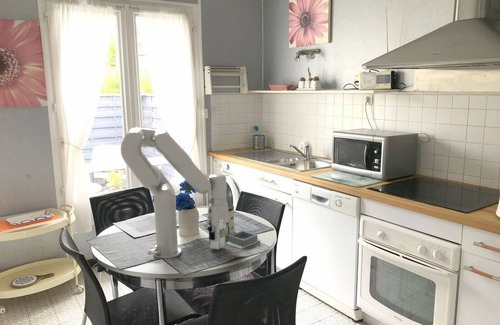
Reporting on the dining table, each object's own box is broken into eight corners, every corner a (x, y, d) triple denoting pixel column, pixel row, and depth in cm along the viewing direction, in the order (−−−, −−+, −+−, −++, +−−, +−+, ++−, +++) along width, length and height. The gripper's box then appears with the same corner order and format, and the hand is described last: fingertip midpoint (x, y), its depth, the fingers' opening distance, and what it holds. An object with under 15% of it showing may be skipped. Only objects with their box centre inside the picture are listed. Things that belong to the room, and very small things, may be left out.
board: (240, 249, 195) (240, 247, 195) (225, 244, 202) (225, 242, 202) (260, 240, 205) (260, 239, 205) (245, 236, 212) (245, 235, 212)
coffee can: (216, 229, 223) (216, 204, 221) (235, 229, 222) (235, 204, 220) (213, 235, 213) (212, 209, 211) (233, 236, 212) (232, 209, 210)
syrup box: (215, 243, 199) (215, 214, 197) (225, 246, 197) (226, 216, 194) (208, 247, 194) (208, 217, 192) (219, 250, 192) (219, 220, 189)
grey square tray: (243, 246, 196) (243, 240, 196) (228, 241, 203) (228, 235, 203) (257, 240, 204) (257, 235, 203) (242, 236, 210) (242, 230, 210)
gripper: (209, 205, 183) (209, 244, 186) (236, 199, 196) (235, 235, 199) (198, 202, 188) (198, 240, 191) (225, 196, 201) (225, 231, 204)
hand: (217, 237), depth 195 cm, fingers closed on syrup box, 6 cm apart
